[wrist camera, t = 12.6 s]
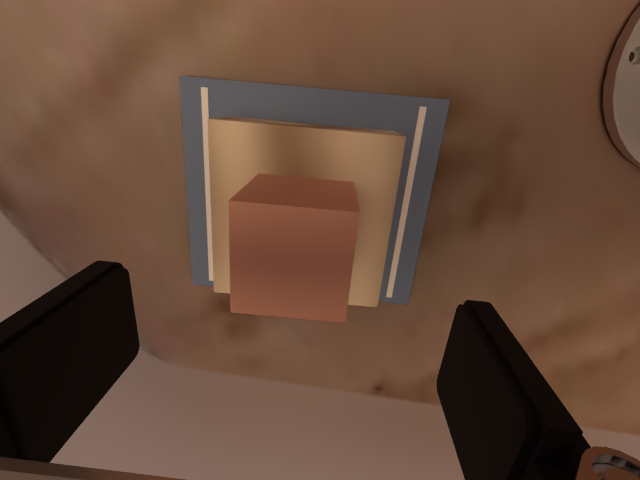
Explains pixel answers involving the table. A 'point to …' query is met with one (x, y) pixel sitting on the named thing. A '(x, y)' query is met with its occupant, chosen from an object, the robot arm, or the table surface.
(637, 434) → the table surface
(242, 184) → the maple base block
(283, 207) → the terracotta block
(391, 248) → the board
